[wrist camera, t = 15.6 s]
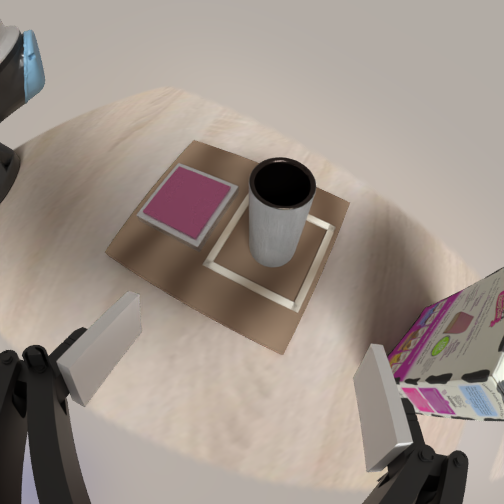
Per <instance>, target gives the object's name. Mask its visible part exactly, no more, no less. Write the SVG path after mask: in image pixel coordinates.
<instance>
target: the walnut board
mask: <svg viewBox="0 0 504 504" xmlns="http://www.w3.org/2000/svg"><path fill="white" fill-rule="evenodd" d="M178 163H180V164H183V165H186V166H188V167H191V168H194V169H196V170H199V171H201V172H204V173H206V174H209V175H211V176H214V177H217V178H219V179H222V180H224V181H226V182H229V183H231V184H234V185H236V186H239V194H238V195H237V196H236V198H235V199H234V201H233V202H232V204H231V205H230V207H229V208H228V210H227V211H226V213H225V214H224V216H223V217H222V219H221V220H220V222H219V223H218V225H217V226H216V228H215V229H214V231H213V232H212V234H211V235H210V237H209V238H208V240H207V242H206V243H205V245H204V246H203V248H202V249H201V251H200V252H198V251H196V250H194V249H192V248H190V247H188V246H186V245H184V244H183V243H181V242H179V241H177V240H175V239H173V238H171V237H169V236H167V235H165V234H163V233H162V232H160V231H158V230H156V229H154V228H152V227H150V226H148V225H146V224H145V223H143V222H141V221H140V220H139V219H138V217H137V216H136V215H137V214H138V212H139V211H140V210H141V208H142V207H143V206H144V204H145V203H146V202H147V201H148V199H149V198H150V197H151V195H152V194H153V193H154V192H155V190H156V189H157V188H158V187H159V186H160V184H161V183H162V182H163V181H164V179H165V178H166V177H167V176H168V175H169V173H170V172H171V171H172V170H173V169H174V168H175V166H176V165H177V164H178ZM258 164H259V163H257V162H254V161H252V160H249V159H246V158H244V157H241V156H238V155H236V154H233V153H230V152H227V151H224V150H222V149H219V148H216V147H213V146H210V145H207V144H204V143H201V142H198V141H195V140H194V141H193V142H192V143H191V144H190V145H189V146H188V147H187V148H186V149H185V150H184V152H183V153H182V154H181V155H180V156H179V157H178V158H177V159H176V161H175V162H174V163H173V164H172V165H171V166H170V167H169V169H168V170H167V171H166V172H165V173H164V174H163V176H162V177H161V178H160V179H159V180H158V182H157V183H156V184H155V185H154V186H153V188H152V189H151V190H150V191H149V193H148V194H147V195H146V196H145V198H144V199H143V200H142V202H141V203H140V204H139V205H138V207H137V208H136V209H135V211H134V212H133V213H132V215H131V216H130V217H129V219H128V220H127V221H126V223H125V224H124V225H123V227H122V228H121V230H120V231H119V232H118V234H117V235H116V237H115V238H114V239H113V241H112V242H111V244H110V245H109V247H108V248H107V250H106V251H105V253H106V254H107V255H108V256H110V257H111V258H113V259H114V260H116V261H117V262H119V263H120V264H122V265H123V266H125V267H126V268H128V269H129V270H131V271H132V272H134V273H135V274H137V275H139V276H140V277H142V278H143V279H145V280H146V281H148V282H150V283H151V284H153V285H154V286H156V287H158V288H159V289H161V290H163V291H164V292H166V293H168V294H169V295H171V296H173V297H174V298H176V299H178V300H179V301H181V302H183V303H184V304H186V305H188V306H190V307H191V308H193V309H195V310H197V311H198V312H200V313H202V314H204V315H206V316H207V317H209V318H211V319H213V320H215V321H216V322H218V323H220V324H222V325H224V326H226V327H228V328H229V329H231V330H233V331H235V332H237V333H239V334H241V335H243V336H245V337H247V338H249V339H251V340H253V341H254V342H256V343H258V344H260V345H262V346H265V347H267V348H269V349H271V350H273V351H275V352H277V353H279V354H281V355H283V354H284V352H285V350H286V348H287V346H288V344H289V342H290V340H291V338H292V336H293V334H294V332H295V330H296V328H297V326H298V324H299V322H300V319H301V317H302V315H303V313H304V311H305V309H306V307H307V305H308V302H309V300H310V298H311V296H312V294H313V291H314V289H315V287H316V285H317V283H318V280H319V278H320V276H321V273H322V271H323V269H324V266H325V264H326V262H327V259H328V257H329V255H330V252H331V250H332V247H333V245H334V243H335V240H336V238H337V235H338V233H339V230H340V228H341V225H342V222H343V220H344V217H345V215H346V212H347V209H348V207H349V204H350V203H349V202H347V201H345V200H343V199H341V198H339V197H337V196H335V195H332V194H330V193H328V192H326V191H324V190H322V189H319V188H317V187H316V192H315V195H314V198H313V201H312V204H311V207H310V210H309V213H308V216H307V219H306V222H305V225H304V228H303V230H302V233H301V236H300V239H299V242H298V245H297V247H296V250H295V253H294V255H293V257H292V258H291V260H290V261H289V262H287V263H286V264H284V265H282V266H279V267H267V266H264V265H261V264H260V263H258V262H257V261H256V260H255V259H254V258H253V256H252V254H251V252H250V247H249V177H250V174H251V172H252V170H253V169H254V168H255V167H256V166H257V165H258Z"/></svg>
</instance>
